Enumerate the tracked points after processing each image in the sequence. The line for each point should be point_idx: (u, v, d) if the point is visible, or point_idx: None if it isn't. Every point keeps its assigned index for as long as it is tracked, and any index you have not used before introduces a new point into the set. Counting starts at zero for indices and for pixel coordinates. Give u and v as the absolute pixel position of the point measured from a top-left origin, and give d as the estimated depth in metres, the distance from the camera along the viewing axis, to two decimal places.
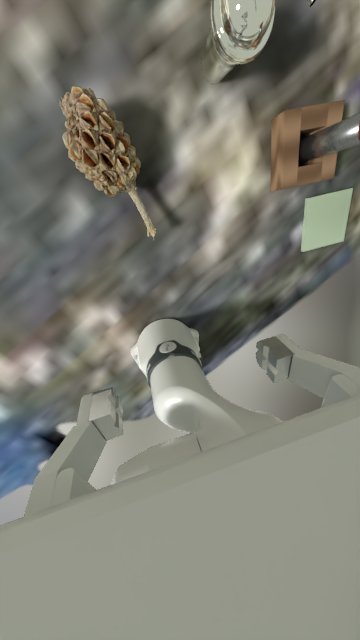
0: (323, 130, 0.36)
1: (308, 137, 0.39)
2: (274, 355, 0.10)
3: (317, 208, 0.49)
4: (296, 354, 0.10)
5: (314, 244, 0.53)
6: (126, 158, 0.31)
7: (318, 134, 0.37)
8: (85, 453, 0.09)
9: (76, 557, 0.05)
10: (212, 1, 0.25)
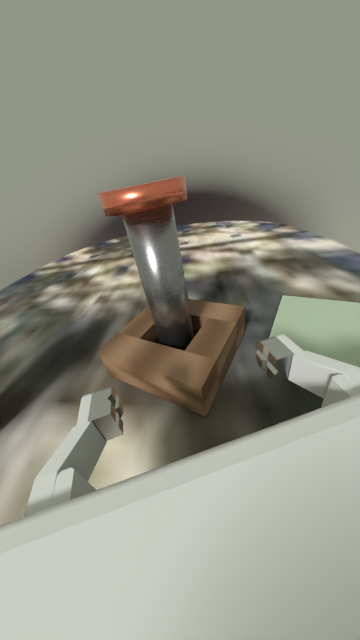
0: (148, 303, 0.21)
1: None
2: (274, 355, 0.10)
3: (295, 338, 0.23)
4: (296, 354, 0.10)
5: None
6: None
7: None
8: (85, 453, 0.09)
9: (76, 557, 0.05)
10: None
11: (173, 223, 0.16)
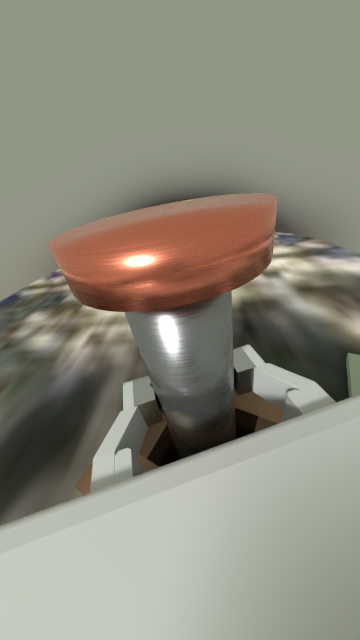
0: None
1: None
2: (236, 367, 0.10)
3: None
4: (257, 367, 0.10)
5: None
6: None
7: None
8: (133, 437, 0.09)
9: (76, 557, 0.05)
10: None
11: (230, 298, 0.07)
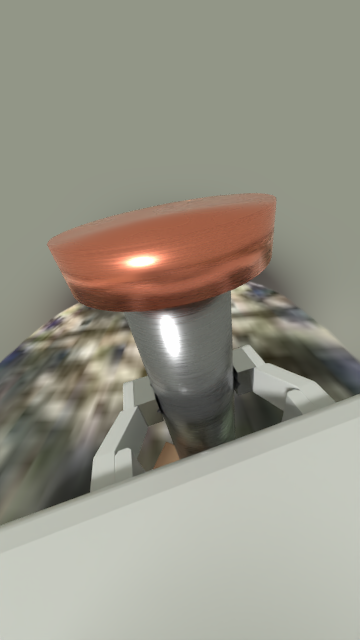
0: None
1: None
2: (236, 367, 0.10)
3: None
4: (258, 367, 0.10)
5: None
6: None
7: None
8: (133, 436, 0.09)
9: (76, 557, 0.05)
10: None
11: (229, 298, 0.07)
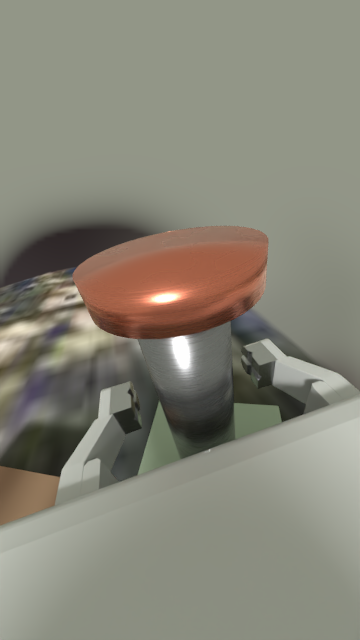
0: None
1: None
2: (257, 361, 0.10)
3: None
4: (279, 360, 0.10)
5: None
6: None
7: (171, 432, 0.13)
8: (107, 445, 0.09)
9: (76, 557, 0.05)
10: None
11: None
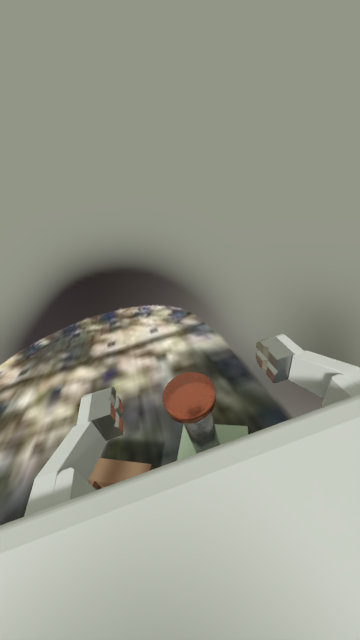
0: None
1: None
2: (274, 355, 0.10)
3: None
4: (296, 354, 0.10)
5: None
6: None
7: None
8: (85, 453, 0.09)
9: (76, 557, 0.05)
10: None
11: None
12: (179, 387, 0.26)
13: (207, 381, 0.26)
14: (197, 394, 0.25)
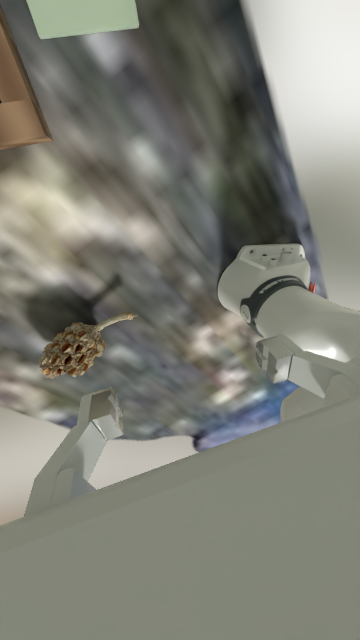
0: None
1: None
2: (274, 355, 0.10)
3: None
4: (296, 354, 0.10)
5: None
6: (74, 346, 0.38)
7: None
8: (85, 453, 0.09)
9: (76, 557, 0.05)
10: None
11: None
12: None
13: None
14: None
